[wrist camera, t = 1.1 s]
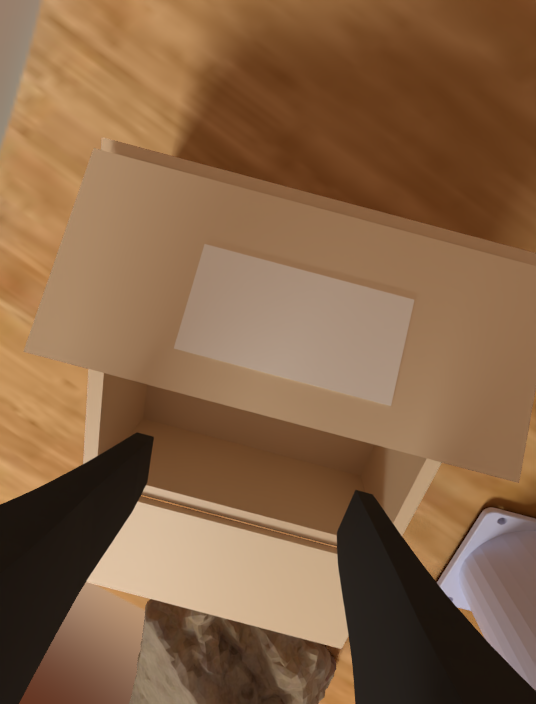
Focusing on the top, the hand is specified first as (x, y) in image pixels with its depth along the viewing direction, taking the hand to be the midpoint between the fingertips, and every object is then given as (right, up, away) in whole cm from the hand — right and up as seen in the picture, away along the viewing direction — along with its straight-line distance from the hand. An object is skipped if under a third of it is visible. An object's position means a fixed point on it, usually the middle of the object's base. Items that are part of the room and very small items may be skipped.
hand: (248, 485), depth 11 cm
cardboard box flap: (+2, +6, -2) cm, 6 cm away
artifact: (-2, -19, +14) cm, 24 cm away
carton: (+1, +2, +6) cm, 7 cm away
